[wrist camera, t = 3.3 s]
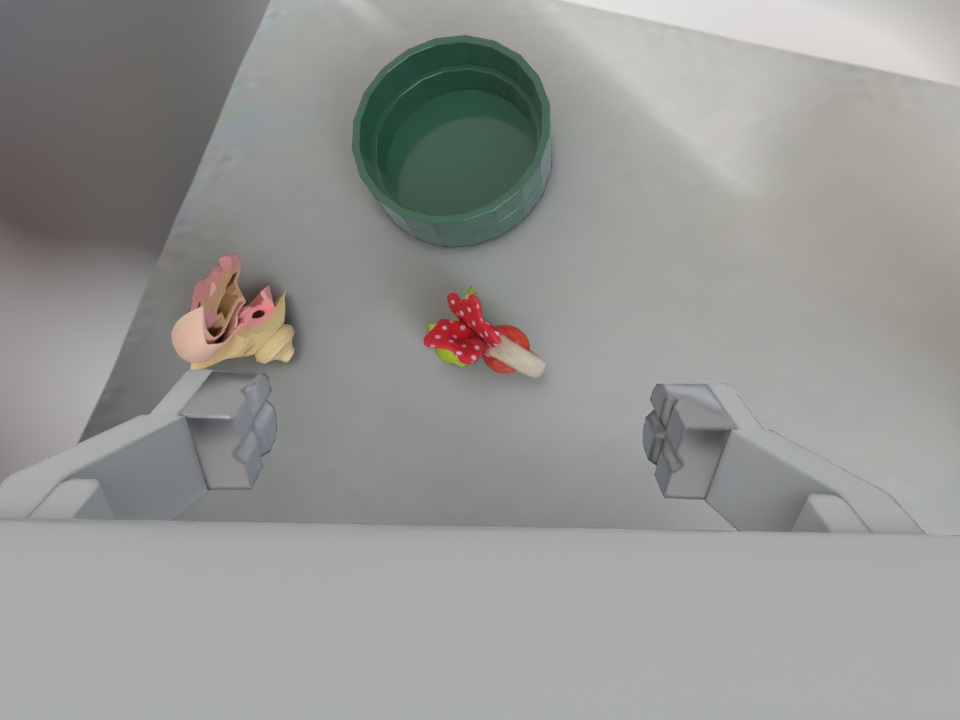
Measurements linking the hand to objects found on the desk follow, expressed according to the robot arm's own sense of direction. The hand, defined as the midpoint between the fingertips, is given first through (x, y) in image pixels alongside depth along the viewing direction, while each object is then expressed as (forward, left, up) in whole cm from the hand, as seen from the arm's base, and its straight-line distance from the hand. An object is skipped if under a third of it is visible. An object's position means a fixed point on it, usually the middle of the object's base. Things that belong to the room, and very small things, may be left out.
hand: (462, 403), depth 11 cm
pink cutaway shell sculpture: (+15, +21, -31) cm, 40 cm away
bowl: (+23, -1, -31) cm, 39 cm away
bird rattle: (+7, +1, -31) cm, 32 cm away
